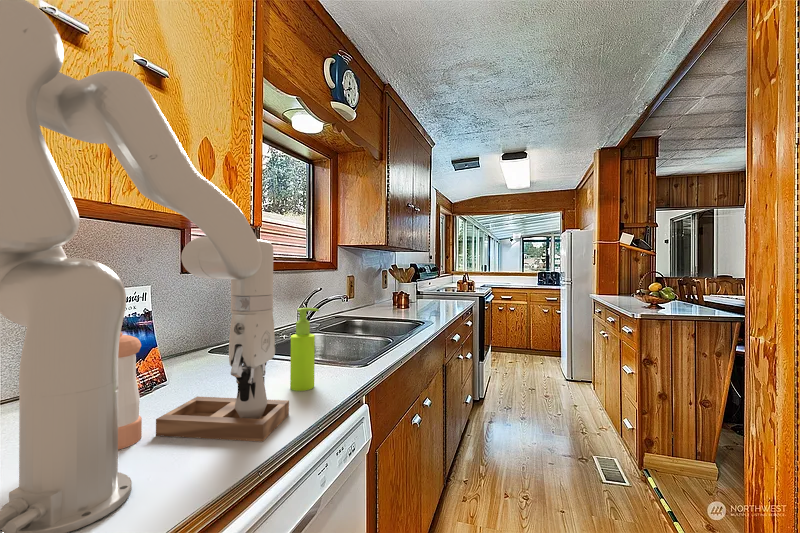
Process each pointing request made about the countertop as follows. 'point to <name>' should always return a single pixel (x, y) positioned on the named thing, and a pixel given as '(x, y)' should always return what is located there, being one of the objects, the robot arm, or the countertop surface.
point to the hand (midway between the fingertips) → (251, 399)
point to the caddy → (220, 420)
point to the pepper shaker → (128, 393)
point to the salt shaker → (253, 398)
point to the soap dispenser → (302, 354)
